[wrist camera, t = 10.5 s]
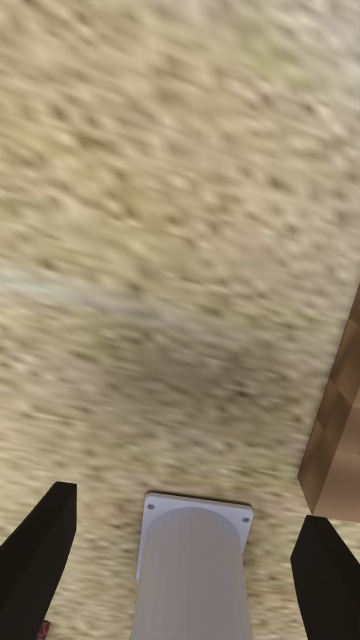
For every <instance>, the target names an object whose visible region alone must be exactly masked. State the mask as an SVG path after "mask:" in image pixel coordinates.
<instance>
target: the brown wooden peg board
mask: <svg viewBox="0 0 360 640" xmlns="http://www.w3.org/2000/svg"><path fill="white" fill-rule="evenodd" d="M298 480H299V482H300V485H301V488H302V490H303V493H304V496H305V498H306V501H307V503H308V506H309V509H310V511H311V514H312V516H319V517H326V518H329V519H337V520H344V521H351V522H359V523H360V285H359V288H358V291H357V295H356V298H355V301H354V304H353V307H352V310H351V313H350V316H349V319H348V322H347V325H346V329H345V332H344V335H343V338H342V341H341V344H340V347H339V350H338V353H337V356H336V359H335V363H334V366H333V369H332V372H331V375H330V378H329V381H328V384H327V387H326V390H325V393H324V397H323V400H322V403H321V406H320V409H319V412H318V415H317V418H316V421H315V424H314V427H313V431H312V434H311V437H310V440H309V443H308V446H307V449H306V452H305V455H304V458H303V461H302V465H301V468H300V471H299V474H298Z"/></svg>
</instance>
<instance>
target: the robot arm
mask: <svg viewBox="0 0 360 640" xmlns="http://www.w3.org/2000/svg"><path fill="white" fill-rule="evenodd" d="M150 504H152V505H150ZM253 516H254V512H253V509H252V508H251V507H250V506H246V505H239V504H232V503H225V502H217V501H210V500H203V499H196V498H188V497H181V496H174V495H166V494H159V493H148V494H147V495H146V497H145V503H144V512H143V521H142V529H141V538H140V546H139V555H138V564H137V572H136V580H137V581H138V582H139V584H138V590H137V597H136V603H135V609H134V616H133V622H132V629H131V635H130V640H253V634H252V627H251V619H250V612H249V604H248V597H247V589H246V582H245V574H244V567H243V559H242V556H243V552H244V548H245V545H246V541H247V538H248V534H249V530H250V527H251V523H252V520H253ZM244 517H246V518H244ZM76 518H77V484H73V483H66V482H59V481H57V482H56V483H54V484H53V485H52V487H51V488H50V489H49V490H48V492H47V493H46V494H45V495H44V497H43V498H42V499H41V500H40V502H39V503H38V504H37V505H36V506H35V508H34V509H33V510H32V511H31V512H30V513H29V515H28V516H27V517H26V518H25V519H24V520H23V522H22V523H21V524H20V525H19V526H18V527H17V528H16V529H15V531H14V532H13V533H12V534H11V535H10V536H9V537H8V538H7V539H6V540H5V542H4V543H3V544H2V545H1V546H0V640H36V637H37V635H38V632H39V630H40V627H41V625H42V622H43V620H44V618H45V615H46V613H47V610H48V608H49V605H50V603H51V600H52V598H53V596H54V593H55V591H56V588H57V586H58V583H59V581H60V578H61V576H62V573H63V571H64V568H65V565H66V562H67V559H68V555H69V552H70V549H71V546H72V543H73V539H74V536H75V533H76ZM290 560H291V566H292V572H293V578H294V584H295V590H296V595H297V600H298V604H299V608H300V612H301V616H302V619H303V623H304V627H305V630H306V634H307V638H308V640H360V564H359V562H358V561H357V560H356V558H355V557H354V555H353V554H352V553H351V551H350V550H349V548H348V547H347V546H346V544H345V543H344V541H343V540H342V539H341V537H340V536H339V534H338V533H337V532H336V530H335V529H334V527H333V526H332V525H331V523H330V522H329V521H328V519H327V518H326V517H319V516H312V515H306V518H305V521H304V523H303V526H302V529H301V531H300V534H299V536H298V539H297V542H296V544H295V547H294V550H293V552H292V555H291V558H290Z"/></svg>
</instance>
